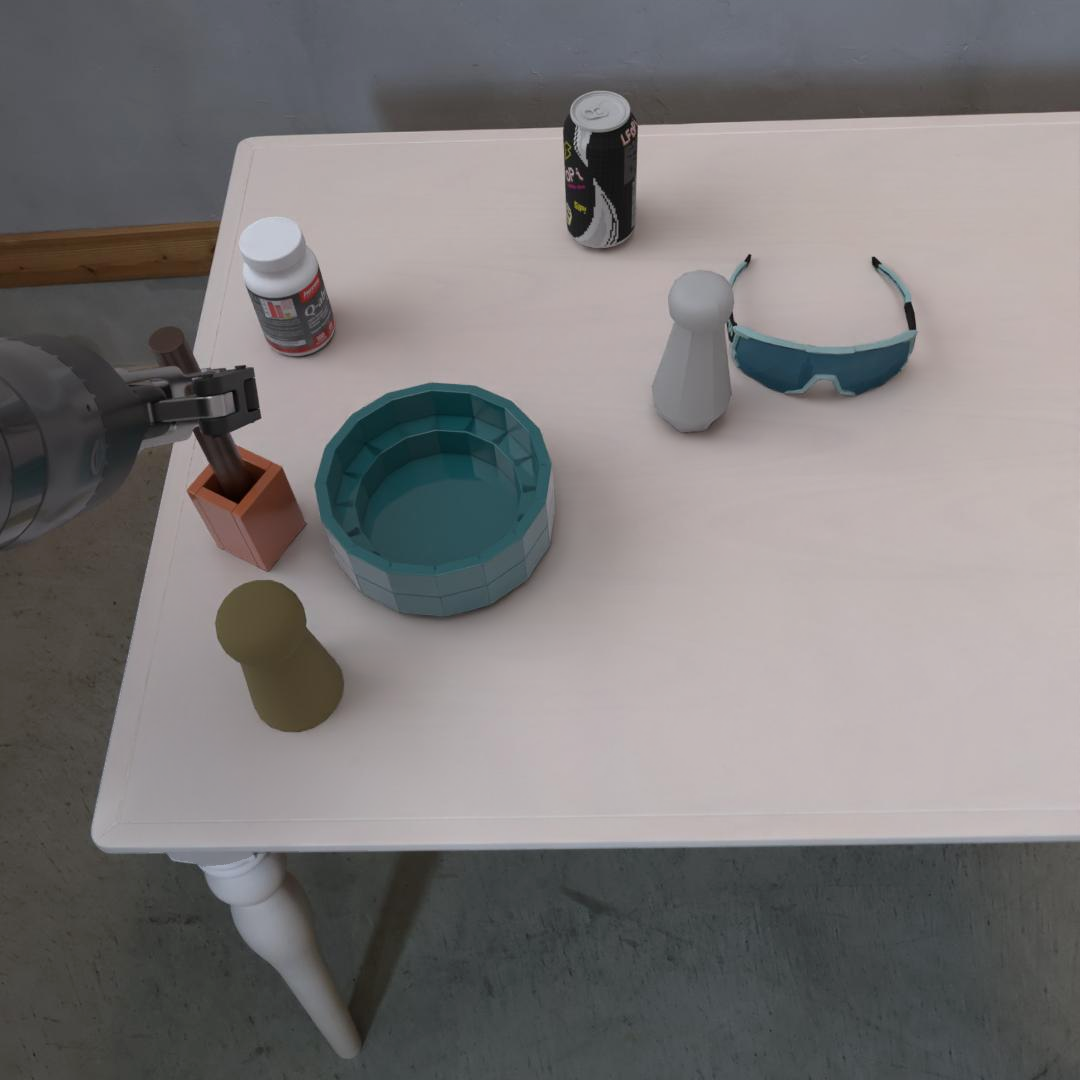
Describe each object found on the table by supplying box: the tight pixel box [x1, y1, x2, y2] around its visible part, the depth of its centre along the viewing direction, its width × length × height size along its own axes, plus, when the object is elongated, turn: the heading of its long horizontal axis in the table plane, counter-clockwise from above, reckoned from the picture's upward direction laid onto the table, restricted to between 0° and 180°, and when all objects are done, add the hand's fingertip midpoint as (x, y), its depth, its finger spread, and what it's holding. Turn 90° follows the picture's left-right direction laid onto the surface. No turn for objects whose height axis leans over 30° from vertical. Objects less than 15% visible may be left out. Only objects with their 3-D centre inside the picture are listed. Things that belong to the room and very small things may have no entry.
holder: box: [185, 444, 307, 572], centre depth 77 cm, size 5×5×7 cm
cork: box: [214, 579, 345, 733], centre depth 69 cm, size 6×6×11 cm
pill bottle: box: [238, 215, 336, 357], centre depth 86 cm, size 6×6×10 cm
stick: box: [148, 325, 254, 504], centre depth 71 cm, size 2×2×20 cm
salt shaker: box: [651, 269, 735, 434], centre depth 79 cm, size 6×6×13 cm
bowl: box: [313, 381, 556, 617], centre depth 77 cm, size 16×16×6 cm
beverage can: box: [562, 90, 639, 249], centre depth 90 cm, size 6×6×12 cm
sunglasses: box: [726, 253, 919, 397], centre depth 87 cm, size 14×15×5 cm
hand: (140, 397), depth 58 cm, fingers open, 8 cm apart
